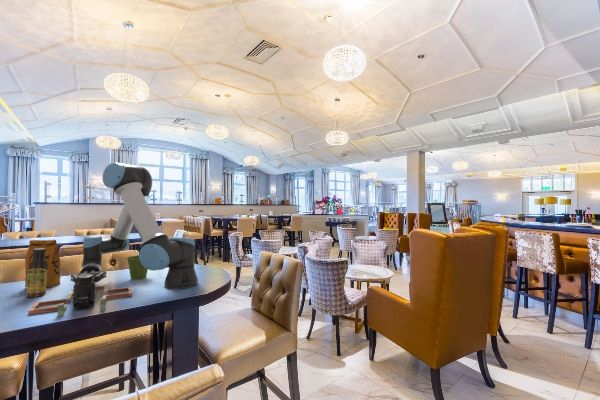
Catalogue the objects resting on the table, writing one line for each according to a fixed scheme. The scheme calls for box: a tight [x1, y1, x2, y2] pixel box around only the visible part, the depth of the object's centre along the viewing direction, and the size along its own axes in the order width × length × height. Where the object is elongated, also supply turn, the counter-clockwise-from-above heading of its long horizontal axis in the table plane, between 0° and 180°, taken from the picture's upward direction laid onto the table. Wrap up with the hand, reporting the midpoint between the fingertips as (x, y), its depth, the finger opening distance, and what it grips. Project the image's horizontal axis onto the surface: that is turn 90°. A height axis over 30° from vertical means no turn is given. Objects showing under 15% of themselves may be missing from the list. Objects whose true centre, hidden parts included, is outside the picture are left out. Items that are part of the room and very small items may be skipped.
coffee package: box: [24, 239, 62, 288], centre depth 140 cm, size 10×12×22 cm
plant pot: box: [125, 254, 148, 281], centre depth 155 cm, size 12×12×11 cm
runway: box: [28, 284, 133, 318], centre depth 119 cm, size 32×32×4 cm
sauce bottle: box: [26, 248, 48, 298], centre depth 125 cm, size 6×6×20 cm
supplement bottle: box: [72, 274, 97, 311], centre depth 111 cm, size 7×7×12 cm
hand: (85, 284), depth 114 cm, fingers closed
